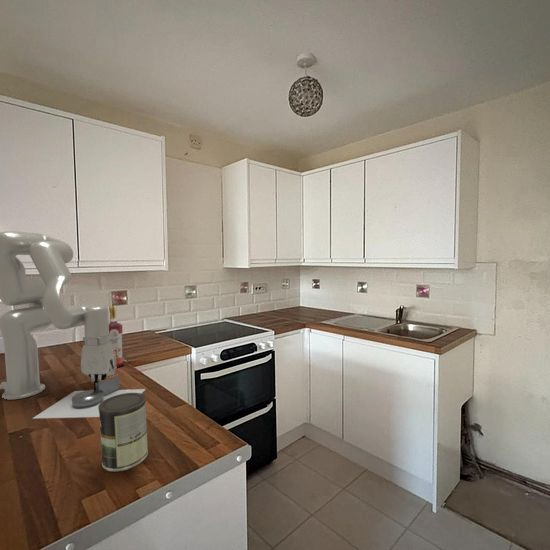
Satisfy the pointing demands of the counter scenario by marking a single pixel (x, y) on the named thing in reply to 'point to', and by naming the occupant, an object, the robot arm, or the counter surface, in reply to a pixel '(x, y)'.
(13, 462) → the counter surface
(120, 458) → the coffee can
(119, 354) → the liquor
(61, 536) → the counter surface
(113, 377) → the grey rounded handled piece
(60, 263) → the robot arm
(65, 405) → the white rectangular board
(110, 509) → the counter surface
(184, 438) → the counter surface
